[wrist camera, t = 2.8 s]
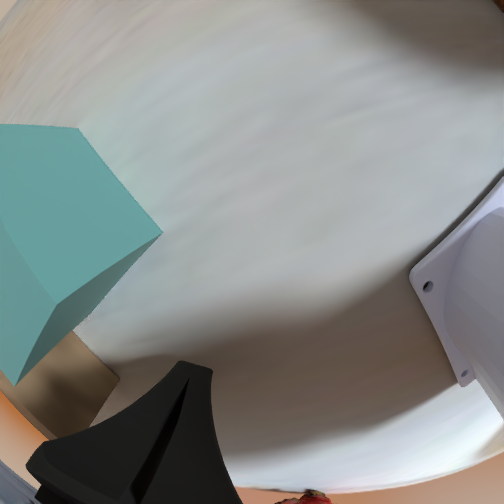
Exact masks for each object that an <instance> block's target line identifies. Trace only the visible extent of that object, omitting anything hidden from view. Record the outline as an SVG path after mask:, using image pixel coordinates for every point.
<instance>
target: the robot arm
mask: <svg viewBox="0 0 504 504" xmlns="http://www.w3.org/2000/svg"><path fill="white" fill-rule="evenodd" d="M409 280H410V283H411V285H412V287H413V288H414V290H415V292H416V294H417V296H418V297H419V299H420V301H421V303H422V305H423V307H424V309H425V311H426V313H427V314H428V316H429V318H430V320H431V322H432V324H433V326H434V328H435V331H436V333H437V335H438V337H439V339H440V341H441V343H442V345H443V348H444V350H445V352H446V354H447V357H448V359H449V361H450V364H451V366H452V368H453V371H454V373H455V376H456V378H457V381H458V383H459V385H460V386H461V387H465V386H467V385H469V384H470V383H471V382H472V381H473V380H475V379H477V381H478V382H479V384H480V385H481V386H482V388H483V389H484V391H485V392H486V394H487V395H488V397H489V398H490V400H491V401H492V403H493V404H494V406H495V407H496V409H497V410H498V412H499V413H500V415H501V417H502V418H503V420H504V176H503V177H502V178H501V179H500V180H499V182H498V183H497V184H496V185H495V186H494V188H493V189H492V190H491V191H490V192H489V193H488V194H487V196H486V197H485V198H484V199H483V200H482V201H481V202H480V203H479V204H478V205H477V206H476V208H475V209H474V210H473V211H472V212H471V213H470V214H469V215H468V216H467V217H466V218H465V219H464V220H463V221H462V222H461V223H460V224H459V225H458V226H457V227H456V228H455V229H454V230H453V231H452V232H451V233H450V234H449V235H448V236H447V237H446V238H445V239H444V240H443V241H442V242H441V243H440V244H438V245H437V246H436V247H435V248H434V249H433V250H432V251H431V252H430V253H429V254H428V255H426V256H425V257H424V258H423V259H422V260H421V261H420V262H419V263H417V264H416V265H415V266H414V267H413V268H412V270H411V272H410V275H409ZM428 281H429V284H428V286H427V287H426V288H425V289H423V286H424V284H425V283H426V282H428ZM212 374H213V371H212V369H210V368H206V367H203V366H199V365H196V364H192V363H189V362H186V361H182V360H181V361H178V363H177V364H176V365H175V366H174V367H173V368H172V370H171V371H170V372H169V373H168V374H167V375H166V376H165V377H164V378H163V379H162V380H161V381H160V382H159V383H157V384H156V385H155V386H154V387H153V388H152V389H151V390H150V391H148V392H147V393H146V394H145V395H143V396H142V397H141V398H139V399H138V400H137V401H136V402H134V403H133V404H131V405H130V406H129V407H127V408H126V409H124V410H122V411H121V412H119V413H118V414H116V415H114V416H112V417H111V418H109V419H107V420H105V421H103V422H101V423H99V424H97V425H95V426H93V427H90V428H88V429H85V430H82V431H80V432H77V433H74V434H72V435H68V436H65V437H61V438H57V439H53V440H49V441H45V442H43V443H42V444H41V445H40V446H39V447H38V448H37V449H36V451H35V452H34V453H33V455H32V456H31V457H30V459H29V461H28V462H27V463H26V469H27V470H28V471H29V473H30V474H31V475H32V476H33V477H34V478H35V479H36V480H37V481H38V482H39V483H40V484H41V486H40V488H39V490H37V489H35V488H34V487H33V486H31V485H30V484H29V483H27V482H26V481H25V480H23V479H22V478H21V477H19V476H18V475H17V474H16V473H15V472H14V471H12V470H11V469H10V468H9V467H8V466H6V465H5V464H4V463H3V462H2V461H1V460H0V504H243V503H242V501H241V499H240V498H239V496H238V494H237V492H236V490H235V488H234V486H233V483H232V481H231V479H230V476H229V474H228V471H227V469H226V467H225V464H224V461H223V458H222V455H221V452H220V448H219V445H218V441H217V437H216V432H215V427H214V422H213V415H212V406H211V379H212Z"/></svg>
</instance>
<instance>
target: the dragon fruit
mask: <svg viewBox="0 0 504 504" xmlns="http://www.w3.org/2000/svg"><path fill="white" fill-rule="evenodd" d="M309 492H310V494H304V495H303V496H302V497H301V498H300V499H296V498H292V499H289V500H288V499H284V500H283V501H282V502H277V503H275V504H332V503H331V500H330V499H329V498H327V497H325V494H324V493H321V492H319V491H309Z"/></svg>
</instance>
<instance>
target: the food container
mask: <svg viewBox="0 0 504 504" xmlns="http://www.w3.org/2000/svg"><path fill="white" fill-rule="evenodd" d="M493 1H494V2H495V4H496V5H497V6H498V7H499V8H500V10H501V11H502V12H503V13H504V0H493Z"/></svg>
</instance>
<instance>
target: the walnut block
mask: <svg viewBox="0 0 504 504" xmlns="http://www.w3.org/2000/svg"><path fill="white" fill-rule="evenodd" d="M119 380H120V378H119V377H117V376H116V375H115V374H114V373H113V372H112V371H111V370H110V369H109V368H108V367H107V366H106V365H105V364H104V363H103V362H102V361H101V360H100V359H99V358H98V357H97V356H96V355H95V354H94V353H93V352H92V351H91V350H90V349H89V348H88V347H87V346H86V345H85V344H84V343H83V342H82V341H81V340H80V339H79V338H78V337H77V335H76V334H75V333H74V332H73V331H71V332H70V333H69V334H67V335H66V336H65V337H64V338H63V339H62V340H61V341H60V342H59V343H58V344H57V345H56V346H55V347H54V348H53V349H52V350H51V351H50V352H49V353H48V354H47V355H46V356H45V357H43V358H42V359H41V360H40V361H39V362H38V363H37V364H36V365H35V366H34V367H33V368H32V369H31V370H30V372H29V373H28V374H27V375H26V376H25V377H24V378H23V379H22V380H21V381H20V382H19V383H18V384H17V385H16V386H14V385H13V384H12V383H11V382H10V381H9V379H8V378H7V377H6V376H5V374H4V373H3V372H2V371H1V369H0V390H1V391H2V393H3V394H4V395H5V396H6V397H7V398H8V400H9V401H10V402H11V403H12V404H13V405H14V406H15V407H16V408H17V409H18V411H19V412H21V414H22V415H23V416H24V417H25V418H26V419H27V420H28V421H29V422H30V423H31V424H32V425H34V427H35V428H37V429H38V430H39V431H40V432H41V433H42V434H43V435H44V436H45V437H46V438H47V439H49V440H53V439H57V438H61V437H65V436H68V435H72V434H74V433H77V432H80V431H82V430H85V429H88V428H89V426H90V425H91V423H92V422H93V420H94V418H95V417H96V415H97V414H98V412H99V411H100V409H101V407H102V406H103V404H104V403H105V401H106V400H107V398H108V397H109V395H110V394H111V392H112V391H113V389H114V388H115V386H116V385H117V383H118V382H119Z"/></svg>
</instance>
